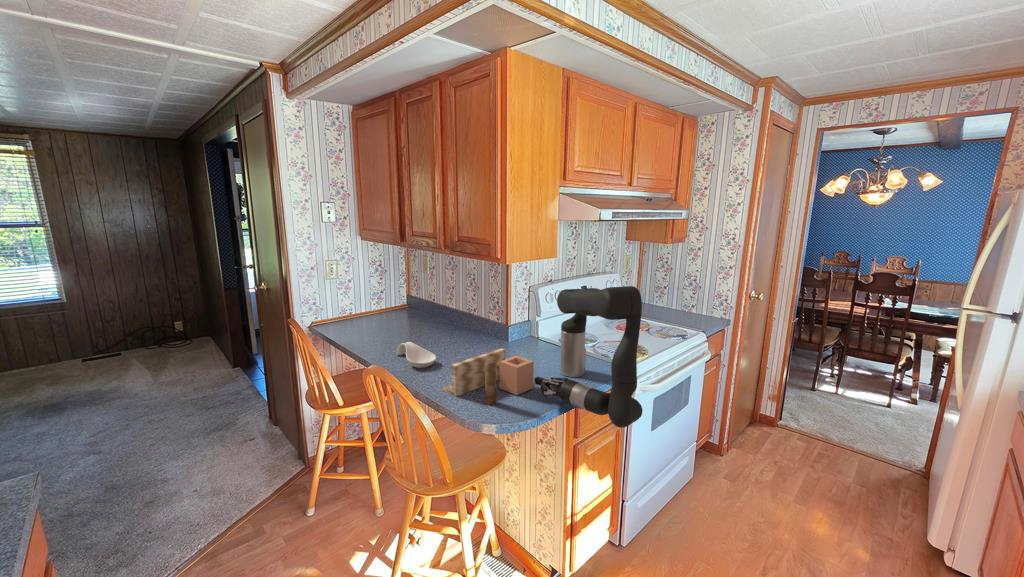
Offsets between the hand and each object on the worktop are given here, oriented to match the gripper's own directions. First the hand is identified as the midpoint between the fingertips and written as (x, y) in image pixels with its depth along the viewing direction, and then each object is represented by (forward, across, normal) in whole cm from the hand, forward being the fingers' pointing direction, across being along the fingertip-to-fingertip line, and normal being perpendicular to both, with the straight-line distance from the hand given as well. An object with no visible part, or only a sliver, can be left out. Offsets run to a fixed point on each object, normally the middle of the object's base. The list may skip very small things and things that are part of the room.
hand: (535, 379), depth 147 cm
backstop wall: (+23, +7, +6) cm, 25 cm away
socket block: (+9, 0, +6) cm, 11 cm away
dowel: (+8, +14, +6) cm, 17 cm away
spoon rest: (+59, +9, +6) cm, 60 cm away
